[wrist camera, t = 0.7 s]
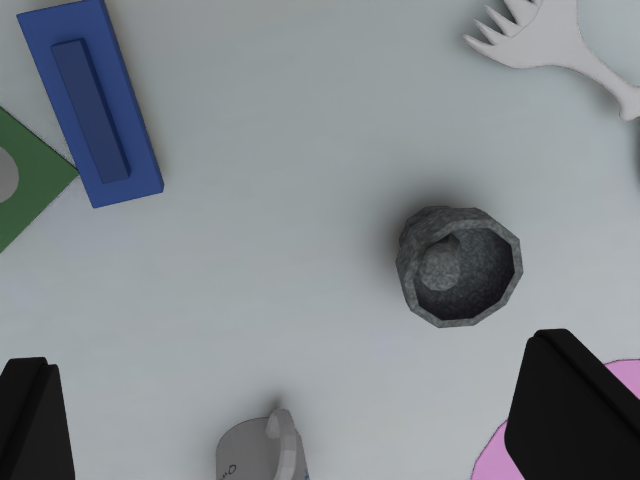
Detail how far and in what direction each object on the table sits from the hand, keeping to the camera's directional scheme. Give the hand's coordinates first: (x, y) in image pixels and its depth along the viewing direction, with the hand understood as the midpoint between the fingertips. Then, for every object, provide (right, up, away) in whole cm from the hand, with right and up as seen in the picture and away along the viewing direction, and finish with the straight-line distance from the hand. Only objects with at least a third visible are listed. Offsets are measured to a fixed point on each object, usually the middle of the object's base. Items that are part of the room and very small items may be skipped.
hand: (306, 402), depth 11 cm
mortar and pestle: (+10, +4, +39) cm, 40 cm away
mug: (-5, -16, +46) cm, 49 cm away
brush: (-15, +13, +29) cm, 35 cm away
